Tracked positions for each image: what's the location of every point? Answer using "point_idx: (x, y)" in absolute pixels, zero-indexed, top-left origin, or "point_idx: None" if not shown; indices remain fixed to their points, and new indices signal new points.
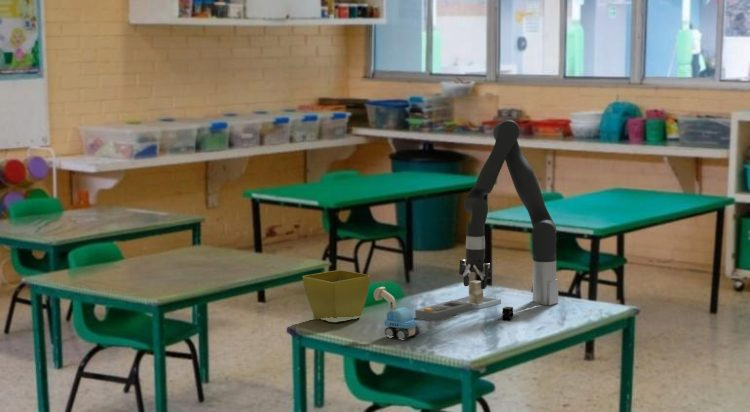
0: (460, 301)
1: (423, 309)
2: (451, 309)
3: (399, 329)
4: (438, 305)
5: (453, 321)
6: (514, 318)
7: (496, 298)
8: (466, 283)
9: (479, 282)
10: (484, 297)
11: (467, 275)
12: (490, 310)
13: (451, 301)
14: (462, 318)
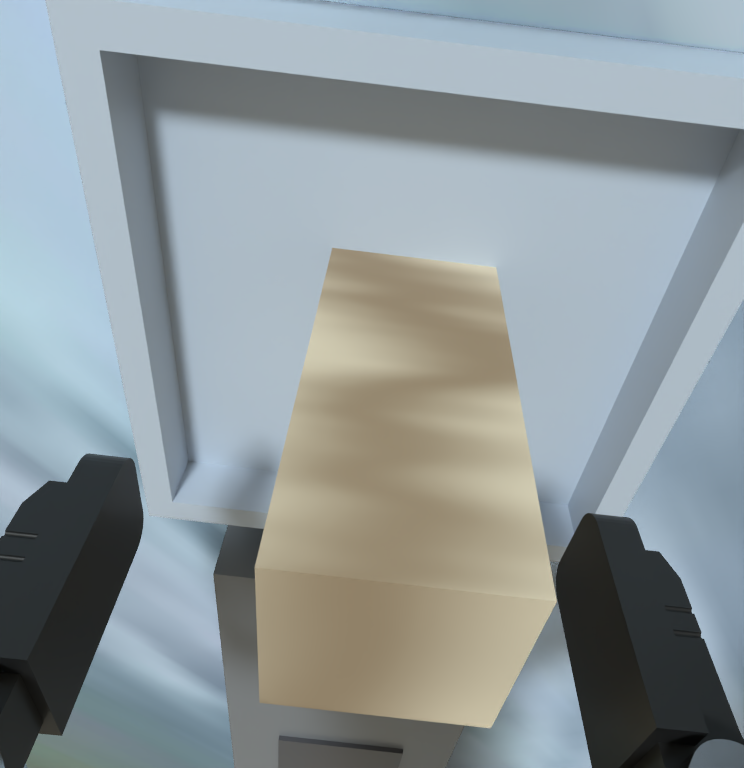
0: None
1: None
2: (450, 754)
3: None
4: (269, 716)
5: (527, 745)
6: None
7: (732, 88)
8: (117, 559)
9: (512, 676)
10: (411, 83)
11: (7, 736)
12: (698, 430)
13: (245, 602)
14: (548, 694)
